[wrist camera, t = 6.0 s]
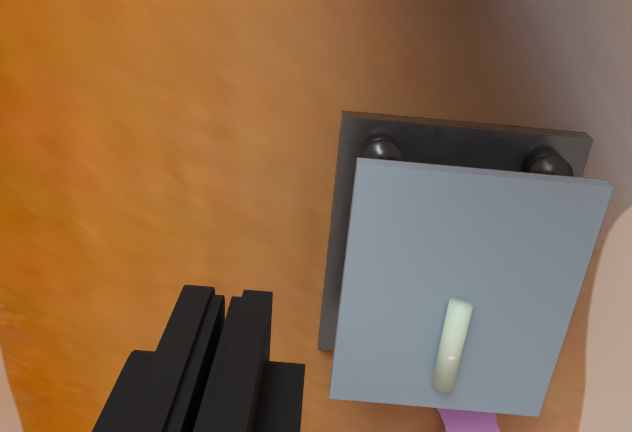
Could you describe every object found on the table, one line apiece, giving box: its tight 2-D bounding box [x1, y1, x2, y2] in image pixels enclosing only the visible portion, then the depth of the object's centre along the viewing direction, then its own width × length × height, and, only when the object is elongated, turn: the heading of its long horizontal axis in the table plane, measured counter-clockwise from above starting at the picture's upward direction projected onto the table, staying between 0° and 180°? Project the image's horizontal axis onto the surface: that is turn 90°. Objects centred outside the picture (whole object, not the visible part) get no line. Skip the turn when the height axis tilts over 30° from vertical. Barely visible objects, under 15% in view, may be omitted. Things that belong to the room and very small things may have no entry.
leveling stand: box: [318, 111, 593, 351], centre depth 45 cm, size 21×18×6 cm
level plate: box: [329, 158, 614, 417], centre depth 40 cm, size 19×16×3 cm
